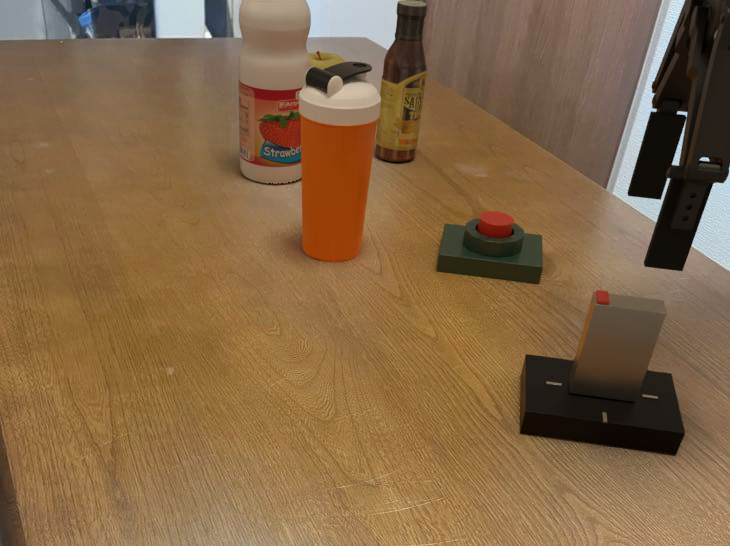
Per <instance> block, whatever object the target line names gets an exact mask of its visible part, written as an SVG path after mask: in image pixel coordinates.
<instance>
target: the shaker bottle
mask: <svg viewBox="0 0 730 546" xmlns="http://www.w3.org/2000/svg"><path fill="white" fill-rule="evenodd" d="M372 70H373V67H372V65H371V64H369V63H367V62H361V61H345V62H343V63H339V64H336V65H333V66H330V67H328V68H325V69H323V70H322V69H320V68H317V67H310V68H309V69H308V70H307V72H306V74H305V86H304V87H303V88H302V90H301V91H300V93H299V110H298V112H299V114H300V115H301V174H302V175H301V176H302V178H301V224H302V225H301V239H302V240H301V243H302V246H301V247H302V251H303V252H304V253H305V254H306V255H307V256H308V257H310V258H312V259H315V260H317V261H322V262H331V263H336V262H338V263H339V262H346V261H350V260H353V259H355V258H356V257H358V255H360V253H361V250H362V243H363V235H364V227H365V218H366V212H367V211H366V210H367V202H368V197H369V195H368V194H369V187H370V180H371V172H372V163H373V157H374V148H375V143H376V142H375V139H376V129H377V120H378V119H379V117H380V106H381V97H380V92H379V91H378V90H377V88H376V87H375V86H374V85H373V83H371V82H370V81H368V80H367V74H368V73H369V72H371V71H372Z"/></svg>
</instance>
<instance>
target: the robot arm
mask: <svg viewBox="0 0 730 546" xmlns="http://www.w3.org/2000/svg"><path fill="white" fill-rule="evenodd" d="M651 93H652V94H653V97H652V99H651V109H653V110H655V111H650V113H649V116H648V119H647V120H648V121H647V123H646V126H645V130H644V134H643V137H642V139H641V140H642V141H641V144H640V147H639V151H638V155H637V157H636V161H635V165H634V168H633V172H632V176H631V179H630V182H629V186H628V189H627V193H626V194H627V197H633V198H642V199H650V200H662V198H663V200H662V203H661V205H660V206H661V207H660V209H659V213H658V216H657V219H656V221H655V226H654V229H653V232H652V235H651V238H650V241H649V244H648V248H647V251H646V254H645V257H644V261H643V266H644V267H645V268H651V269H661V270H668V271H676V272H684V271H683V270H684V268H685V265H686V262H687V260H688V257H689V254H690V251H691V249H692V246H693V242H694V239H695V237H696V234H697V232H698V228H699V226H700V223H701V221H702V217H703V214H704V212H705V208H706V206H707V203H708V200H709V198H710V197H709V196H710V194H711V191H712V189H713V186H714V184H716V183H717V184H724V183H725V182H726V181H727V179H728V177H729V174H730V0H684V2H683V5H682V7H681V10H680V12H679V15H678V18H677V21H676V23H675V25H674V28H673V31H672V33H671V35H670V39H669V41H668V44H667V46H666V49H665V52H664V54H663V57H662V59H661V61H660V65H659V68H658V70H657V72H656V75H655V78H654V80H653V81H652V83H651ZM678 112H681V113H686V114H681V113H680V114H679V113H678ZM683 130H684V131H683ZM682 134H683V137H682ZM681 137H682V142H681V143H682V144H681V149H680V156H679V161H678V164H677V165H676V164H673V162H674V159H675V155H676V153H677V150H678V147H679V144H680V140H681ZM702 158H707V159H708V160H701V159H702ZM668 179H669V181H668ZM667 181H668V185H667ZM666 185H667V188H666V191H665V194H664V197H663V193H664V190H665V187H666Z"/></svg>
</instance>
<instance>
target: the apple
mask: <svg viewBox="0 0 730 546" xmlns="http://www.w3.org/2000/svg"><path fill="white" fill-rule="evenodd" d="M308 55H309V59H310V67H317V68H320V69H322V70H323V69H325V68H328V67H330V66H333V65H336V64H339V63H343V62H346V61H345V59H344V58H343V57H342V56H340V55H338V54H335V53H332V52H331V53H330V52H324V51H323V52H321V51H320V50H317V51H316V52H308Z"/></svg>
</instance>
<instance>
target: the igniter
mask: <svg viewBox="0 0 730 546" xmlns="http://www.w3.org/2000/svg"><path fill="white" fill-rule="evenodd" d="M479 218H480V217H478V218H477V217H476V218H473V219H470V220H469V221H467V222H466V223H465V225H461V224H453V223H444V224H443V229H442V234H441V242H440V246H439V252H438V259H437V265H436V266H437V267H436V272H437V273H445V274H452V275H453V274H455V275H462V276H467V277H468V276H469V277H477V278H484V279H485V278H486V279H493V280H499V281H500V280H502V281H508V282H516V283H524V284H532V285H540V283H541V277H542V274H543V269H544V254H543V253H544V252H543V235H542V234H535V233H528V232H525V229H524V228H523V227H522V226H520V225H519V224H518V223H515V222H514V224H513V229H512V234H511V236H510V237H507V238H492V237H487V236H485V235H482V234H480V233H479V232H478V231H477V230H478V224H479Z"/></svg>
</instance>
